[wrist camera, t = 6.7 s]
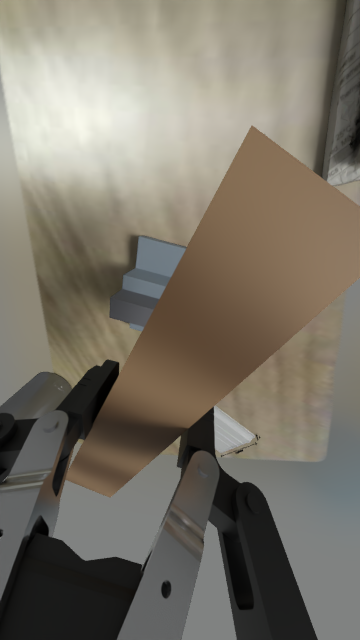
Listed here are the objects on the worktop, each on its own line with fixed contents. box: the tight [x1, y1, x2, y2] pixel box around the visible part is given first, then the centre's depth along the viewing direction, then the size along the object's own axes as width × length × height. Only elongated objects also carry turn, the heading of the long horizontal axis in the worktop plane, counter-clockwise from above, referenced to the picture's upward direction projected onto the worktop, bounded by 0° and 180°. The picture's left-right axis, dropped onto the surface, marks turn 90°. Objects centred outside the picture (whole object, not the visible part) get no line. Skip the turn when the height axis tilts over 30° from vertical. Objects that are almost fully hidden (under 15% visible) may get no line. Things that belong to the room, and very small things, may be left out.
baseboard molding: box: [214, 406, 260, 457], centre depth 39 cm, size 31×3×12 cm
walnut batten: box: [65, 126, 360, 497], centre depth 11 cm, size 22×4×4 cm, turn 151°
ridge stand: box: [110, 236, 187, 331], centre depth 23 cm, size 14×18×9 cm
